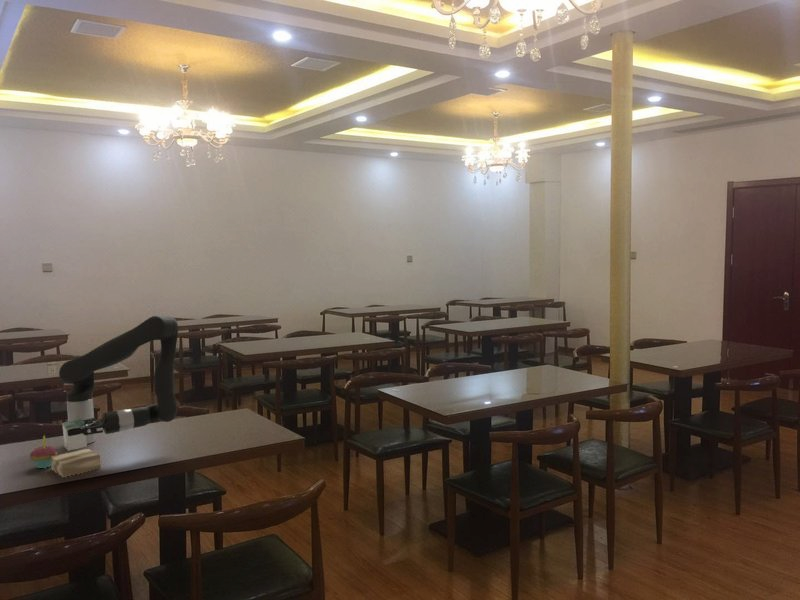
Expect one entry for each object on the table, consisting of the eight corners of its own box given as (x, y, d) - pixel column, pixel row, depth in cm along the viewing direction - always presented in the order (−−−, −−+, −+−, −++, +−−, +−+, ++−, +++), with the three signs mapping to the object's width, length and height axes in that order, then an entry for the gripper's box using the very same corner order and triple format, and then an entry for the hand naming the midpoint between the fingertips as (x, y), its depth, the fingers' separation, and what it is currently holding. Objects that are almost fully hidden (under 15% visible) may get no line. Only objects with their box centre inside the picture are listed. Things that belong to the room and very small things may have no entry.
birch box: (51, 470, 223) (50, 456, 223) (88, 462, 232) (87, 448, 231) (63, 478, 215) (62, 464, 214) (100, 469, 223) (99, 455, 223)
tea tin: (64, 446, 223) (62, 422, 223) (83, 442, 227) (81, 419, 226) (67, 450, 219) (65, 426, 218) (87, 446, 222) (84, 422, 221)
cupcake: (62, 465, 227) (59, 432, 226) (35, 472, 221) (33, 438, 220) (52, 461, 233) (50, 428, 232) (26, 467, 227) (24, 433, 226)
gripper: (112, 407, 236) (61, 416, 226) (122, 414, 225) (68, 424, 215) (114, 427, 237) (63, 437, 227) (124, 435, 225) (71, 446, 215)
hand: (66, 431), depth 221 cm, fingers closed on tea tin, 6 cm apart
